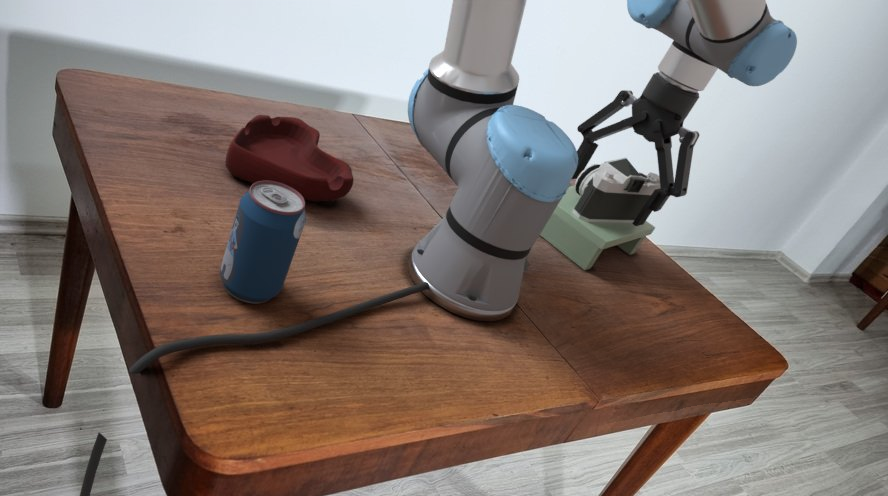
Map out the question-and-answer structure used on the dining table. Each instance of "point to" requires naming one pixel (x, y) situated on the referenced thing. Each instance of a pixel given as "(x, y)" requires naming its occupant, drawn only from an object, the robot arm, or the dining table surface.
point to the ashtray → (288, 158)
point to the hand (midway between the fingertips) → (604, 200)
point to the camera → (613, 192)
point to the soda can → (262, 241)
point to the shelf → (589, 233)
